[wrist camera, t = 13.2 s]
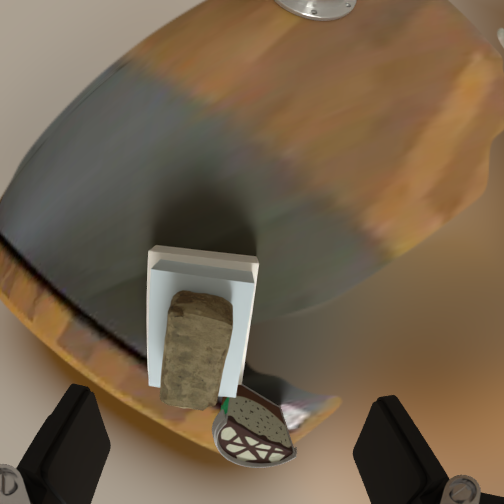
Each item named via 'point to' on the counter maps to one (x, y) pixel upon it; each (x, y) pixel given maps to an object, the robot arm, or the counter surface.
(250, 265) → the tower base slab
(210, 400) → the stone block
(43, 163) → the counter surface
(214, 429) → the food container
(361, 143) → the counter surface
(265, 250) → the counter surface
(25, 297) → the counter surface
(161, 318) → the tower top slab
